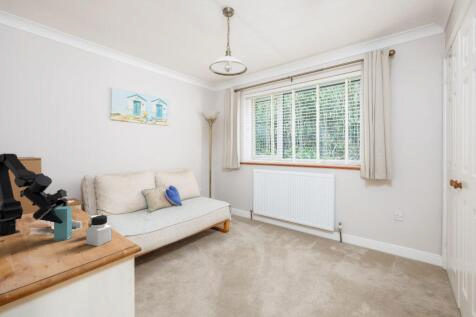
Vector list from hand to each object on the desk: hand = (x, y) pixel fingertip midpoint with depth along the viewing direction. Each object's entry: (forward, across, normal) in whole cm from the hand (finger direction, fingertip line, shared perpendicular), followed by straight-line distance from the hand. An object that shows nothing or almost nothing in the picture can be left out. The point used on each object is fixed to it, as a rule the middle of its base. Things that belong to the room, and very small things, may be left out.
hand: (66, 219), depth 103 cm
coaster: (+5, 0, +7) cm, 9 cm away
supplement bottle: (+14, +1, -2) cm, 14 cm away
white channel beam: (+2, +14, +10) cm, 17 cm away
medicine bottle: (+18, -8, -5) cm, 20 cm away
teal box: (+5, 0, +7) cm, 8 cm away
